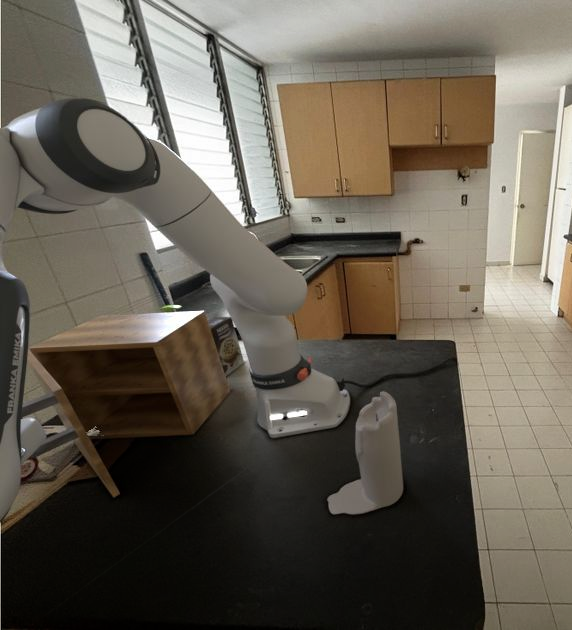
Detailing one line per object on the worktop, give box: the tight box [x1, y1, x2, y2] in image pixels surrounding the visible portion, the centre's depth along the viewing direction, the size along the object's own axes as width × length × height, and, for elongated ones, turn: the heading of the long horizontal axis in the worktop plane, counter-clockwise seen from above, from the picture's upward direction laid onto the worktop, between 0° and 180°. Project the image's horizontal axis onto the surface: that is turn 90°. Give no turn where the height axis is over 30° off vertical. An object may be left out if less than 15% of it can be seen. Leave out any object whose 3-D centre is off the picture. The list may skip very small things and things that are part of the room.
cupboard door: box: [21, 349, 121, 498], centre depth 63 cm, size 7×26×24 cm, turn 56°
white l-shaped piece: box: [326, 391, 404, 515], centre depth 57 cm, size 7×14×20 cm, turn 108°
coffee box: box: [207, 316, 245, 377], centre depth 101 cm, size 9×6×16 cm
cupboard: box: [28, 310, 231, 440], centre depth 81 cm, size 17×26×24 cm, turn 91°
